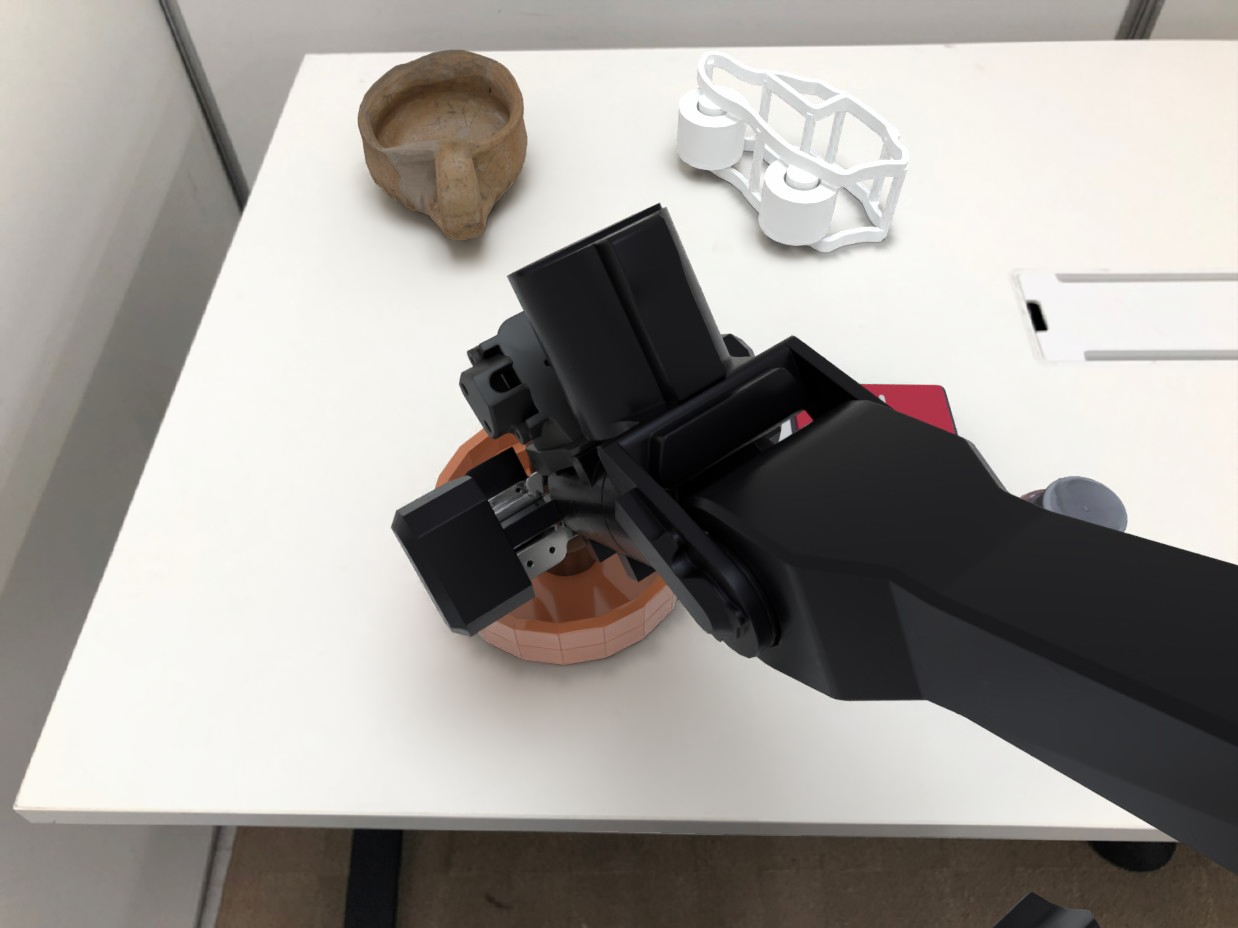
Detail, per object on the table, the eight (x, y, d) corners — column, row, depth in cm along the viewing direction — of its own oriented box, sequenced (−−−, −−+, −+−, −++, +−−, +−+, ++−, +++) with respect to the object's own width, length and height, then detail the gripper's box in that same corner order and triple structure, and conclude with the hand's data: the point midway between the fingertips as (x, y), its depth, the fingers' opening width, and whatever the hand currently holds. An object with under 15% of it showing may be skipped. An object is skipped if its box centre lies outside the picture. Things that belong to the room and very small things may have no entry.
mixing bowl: (715, 642, 50) (723, 607, 46) (452, 688, 49) (435, 655, 45) (663, 433, 59) (665, 387, 55) (437, 467, 58) (422, 422, 54)
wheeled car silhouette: (652, 150, 76) (654, 72, 70) (751, 107, 79) (761, 29, 73) (800, 284, 67) (817, 208, 60) (905, 229, 70) (931, 151, 64)
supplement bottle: (1078, 633, 50) (1179, 539, 41) (992, 669, 49) (1076, 581, 40) (1016, 549, 54) (1097, 444, 44) (933, 582, 52) (998, 481, 43)
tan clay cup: (597, 214, 69) (557, 118, 61) (448, 304, 69) (387, 222, 61) (511, 95, 78) (466, -3, 69) (379, 176, 78) (317, 88, 70)
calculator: (991, 521, 50) (735, 519, 50) (963, 556, 54) (725, 554, 53) (948, 376, 57) (721, 373, 56) (927, 415, 60) (712, 413, 60)
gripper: (776, 205, 34) (621, 257, 49) (347, 423, 29) (314, 410, 43) (871, 449, 37) (698, 431, 52) (498, 692, 32) (421, 596, 46)
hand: (544, 461), depth 48 cm, fingers open, 4 cm apart
